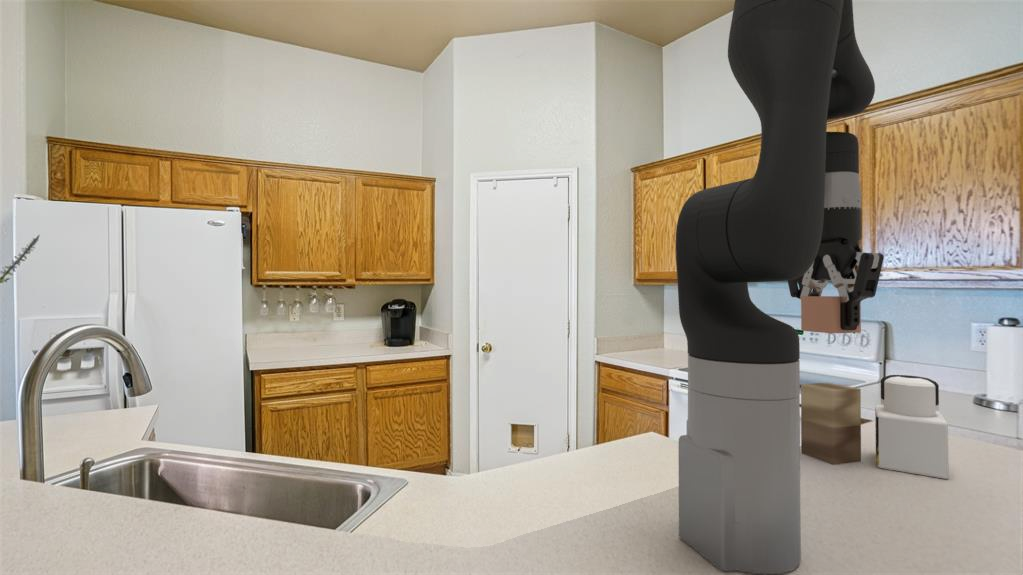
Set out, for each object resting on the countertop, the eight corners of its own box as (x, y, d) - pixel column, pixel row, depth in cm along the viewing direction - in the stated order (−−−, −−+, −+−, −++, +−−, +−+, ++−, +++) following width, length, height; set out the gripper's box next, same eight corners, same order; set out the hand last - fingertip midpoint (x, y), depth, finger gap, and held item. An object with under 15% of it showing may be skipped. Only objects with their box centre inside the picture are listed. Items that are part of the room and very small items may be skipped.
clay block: (860, 332, 67) (860, 296, 67) (832, 333, 66) (832, 296, 66) (828, 329, 72) (828, 296, 72) (801, 330, 70) (801, 296, 70)
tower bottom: (832, 464, 65) (832, 427, 65) (801, 453, 70) (801, 418, 70) (861, 461, 67) (860, 425, 67) (828, 450, 72) (828, 416, 72)
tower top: (832, 427, 65) (832, 390, 66) (801, 418, 70) (800, 384, 70) (860, 425, 67) (860, 388, 67) (828, 416, 72) (827, 382, 72)
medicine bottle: (875, 453, 70) (874, 370, 70) (941, 464, 66) (940, 375, 66) (877, 468, 64) (876, 377, 64) (949, 480, 60) (948, 383, 60)
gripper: (901, 201, 63) (902, 332, 63) (806, 218, 77) (807, 325, 77) (857, 198, 61) (858, 333, 61) (768, 216, 75) (768, 326, 75)
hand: (830, 328), depth 69 cm, fingers closed on clay block, 5 cm apart
